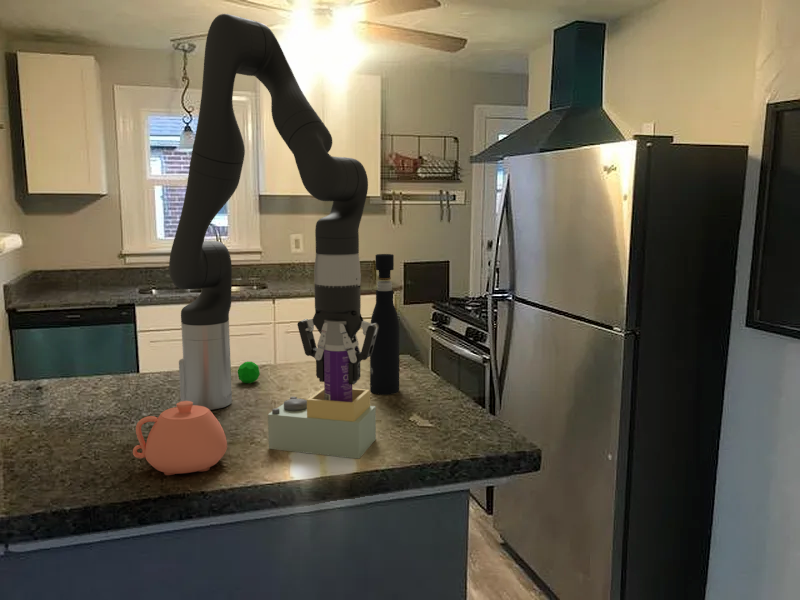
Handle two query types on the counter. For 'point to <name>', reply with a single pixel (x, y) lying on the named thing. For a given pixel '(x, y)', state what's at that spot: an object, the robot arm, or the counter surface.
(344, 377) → the container
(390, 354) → the wine bottle
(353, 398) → the grey-green box with tray
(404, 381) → the counter surface
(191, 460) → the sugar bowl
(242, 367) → the polyhedron
